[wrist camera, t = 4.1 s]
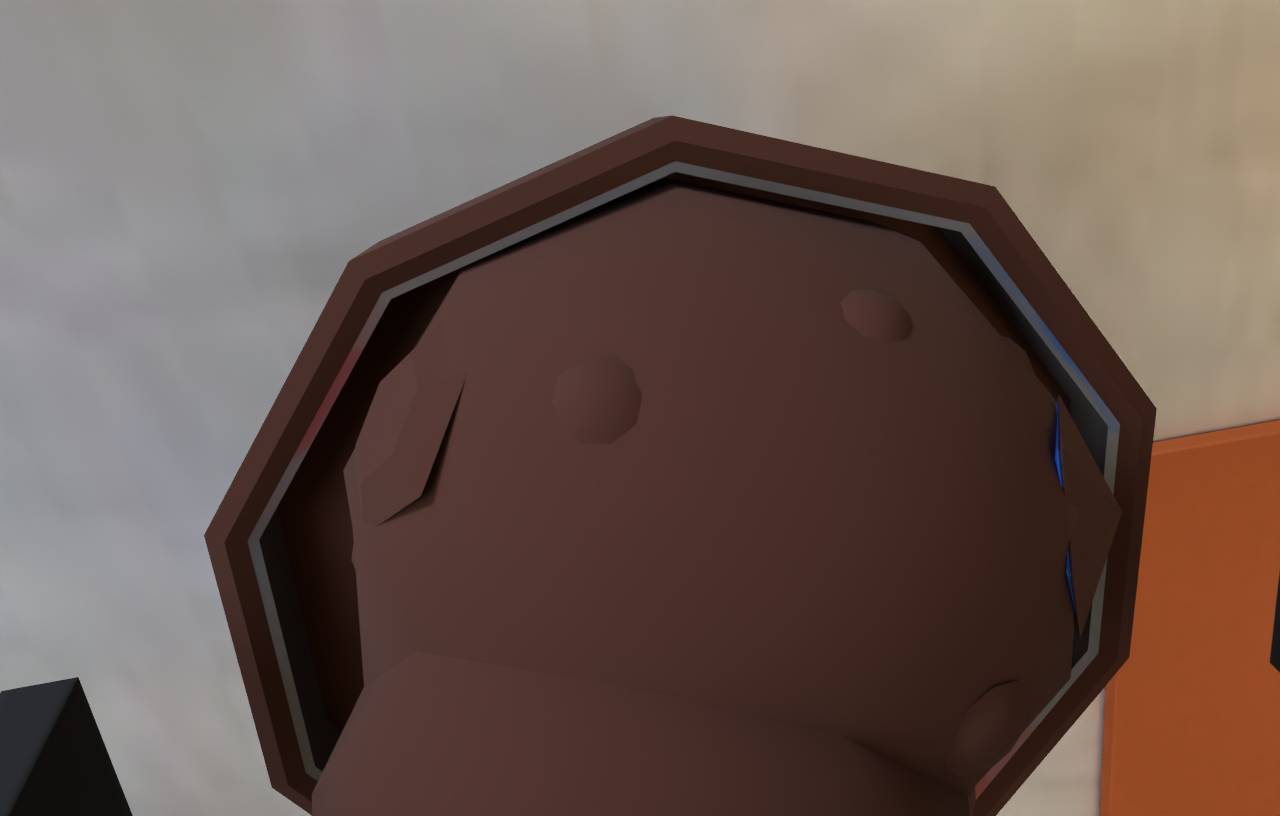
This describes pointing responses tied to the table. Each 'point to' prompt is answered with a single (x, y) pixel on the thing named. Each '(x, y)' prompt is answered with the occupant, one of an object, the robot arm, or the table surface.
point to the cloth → (1201, 637)
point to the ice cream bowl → (688, 499)
